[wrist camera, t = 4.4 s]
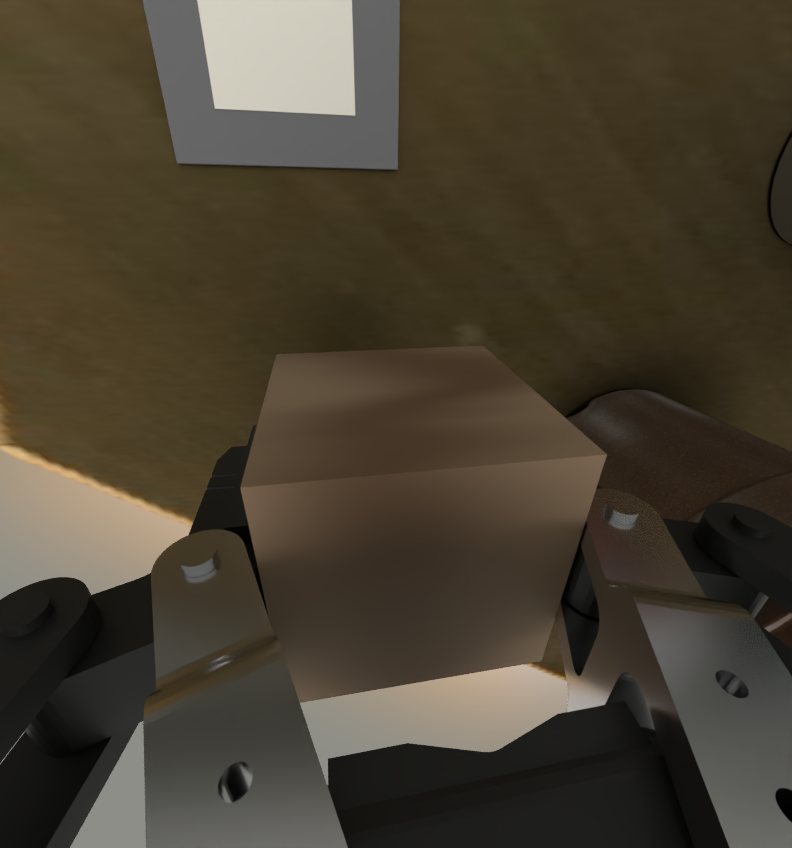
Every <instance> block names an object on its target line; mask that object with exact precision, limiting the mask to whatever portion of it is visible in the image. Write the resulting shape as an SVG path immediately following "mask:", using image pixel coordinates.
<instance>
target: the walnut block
mask: <svg viewBox="0 0 792 848" xmlns="http://www.w3.org/2000/svg"><path fill="white" fill-rule="evenodd" d="M606 456H607V454H606V453H605V452H604V451H603V450H601V449H600V448H599V447H598V446H597V445H596V444H595V443H593V442H592V441H591V440H590V439H589V438H588V437H587V436H585V435H584V434H583V433H582V432H581V431H580V430H579V429H578V428H576V427H575V426H574V425H573V424H572V423H571V422H570V421H568V420H567V419H566V418H565V417H564V416H563V415H562V414H560V413H559V412H558V411H557V410H556V409H555V408H554V407H552V406H551V405H550V404H549V403H548V402H547V401H546V400H545V399H543V398H542V397H541V396H540V395H539V394H538V393H537V392H535V391H534V390H533V389H532V388H531V387H530V386H529V385H527V384H526V383H525V382H524V381H523V380H522V379H521V378H519V377H518V376H517V375H516V374H515V373H514V372H513V371H511V370H510V369H509V368H508V367H507V366H506V365H505V364H504V363H502V362H501V361H500V360H499V359H498V358H497V357H496V356H494V355H493V354H492V353H491V352H490V351H489V350H488V349H486V348H485V347H484V346H483V345H480V346H457V347H433V348H410V349H386V350H363V351H339V352H316V353H292V354H276V358H275V361H274V365H273V369H272V372H271V376H270V380H269V383H268V387H267V391H266V395H265V398H264V402H263V406H262V409H261V413H260V417H259V420H258V424H257V428H256V431H255V435H254V439H253V442H252V446H251V450H250V454H249V457H248V461H247V465H246V468H245V472H244V476H243V479H242V483H241V487H240V489H241V493H242V498H243V502H244V507H245V512H246V516H247V521H248V525H249V530H250V534H251V539H252V543H253V548H254V552H255V557H256V562H257V566H258V571H259V575H260V580H261V584H262V589H263V593H264V598H265V602H266V607H267V612H268V616H269V621H270V624H271V627H272V630H273V633H274V636H277V638H278V640H279V643H280V645H281V648H282V651H283V654H284V657H285V660H286V663H287V666H288V669H289V672H290V675H291V678H292V681H293V684H294V687H295V690H296V693H297V696H298V699H299V702H300V703H301V702H306V701H312V700H318V699H323V698H330V697H335V696H342V695H347V694H353V693H359V692H365V691H370V690H376V689H382V688H388V687H394V686H400V685H405V684H411V683H416V682H423V681H428V680H434V679H440V678H446V677H452V676H458V675H463V674H469V673H474V672H481V671H487V670H493V669H498V668H503V667H510V666H516V665H521V664H527V663H533V662H539V661H541V660H542V657H543V654H544V651H545V648H546V645H547V641H548V638H549V635H550V632H551V629H552V626H553V623H554V619H555V616H556V613H557V610H558V607H559V604H560V601H561V598H562V594H563V591H564V588H565V585H566V582H567V579H568V576H569V572H570V569H571V566H572V563H573V560H574V557H575V554H576V550H577V547H578V544H579V541H580V538H581V535H582V532H583V528H584V525H585V522H586V519H587V516H588V513H589V510H590V507H591V503H592V500H593V497H594V494H595V491H596V488H597V485H598V481H599V478H600V475H601V472H602V469H603V466H604V463H605V459H606Z"/></svg>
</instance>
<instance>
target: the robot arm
mask: <svg viewBox="0 0 792 848" xmlns="http://www.w3.org/2000/svg"><path fill="white" fill-rule="evenodd" d="M771 216H772V220H773V223H774V227H775V229H776V230H777V232H778V234H779V235H780V237H781V238H783V239H784V240H785V241H787V242H788V243H789V244H792V137H791V138H790V140H789V142H788V144H787V147H786V149H785V151H784V153H783V155H782V157H781V159H780V162H779V165H778V168H777V171H776V174H775V177H774V181H773V187H772V193H771ZM256 428H257V425H254V426H253V428H252V431H251V435H250V438H249V442H248V445H247V446H240V447H231V448H230V449H229V450H228V451H227V452H226V453H225V454H224V455H223V456H222V457H220V458H219V459H218V460H217V463H216V466H215V468H214V471H213V473H212V478H210V481H209V484H208V486H207V490H206V491H205V494H204V497H203V499H202V502H201V504H200V507H199V509H198V512H197V515H196V517H195V520H194V522H193V525H192V528H191V530H190V533H189V535H188V536H186V537H184V538H182V539H180V540H178V541H177V542H175V543H173V544H172V545H171V546H169V547H168V548H167V549H166V550H165V551H164V552H163V553H162V554H161V555H160V556H159V557H158V559H157V560H156V562H155V564H154V565H153V568H152V571H151V573H150V574H148V575H146V576H144V577H141V578H139V579H136V580H134V581H131V582H128V583H125V584H123V585H119V586H116V587H114V588H111V589H108V590H105V591H102V592H100V593H96V594H93V595H91V594H90V592H89V590H88V588H87V587H86V585H85V584H84V583H83V582H81V581H80V580H77V579H74V578H68V577H60V578H52V579H47V580H43V581H39V582H36V583H33V584H30V585H28V586H26V587H23V588H21V589H19V590H17V591H15V592H13V593H11V594H9V595H8V596H6V597H4V598H3V599H1V600H0V763H1V761H2V760H3V759H4V757H5V756H6V754H7V753H8V752H9V751H10V749H11V748H12V747H13V745H14V744H15V743H16V742H17V740H18V739H19V738H20V736H21V735H22V734H23V732H24V731H25V733H24V734H23V735H22V737H21V738H20V739H19V741H18V742H17V743H16V745H15V746H14V747H13V749H12V750H11V751H10V752H9V754H8V755H7V757H6V758H5V759H4V760H3V762H2V763H1V764H0V848H70V846H71V844H72V843H73V841H74V839H75V837H76V835H77V834H78V832H79V830H80V828H81V826H82V825H83V823H84V821H85V819H86V817H87V815H88V813H89V812H90V810H91V808H92V807H93V805H94V803H95V801H96V799H97V798H98V796H99V794H100V792H101V790H102V788H103V787H104V785H105V783H106V781H107V779H108V778H109V776H110V774H111V772H112V770H113V769H114V767H115V765H116V763H117V761H118V760H119V758H120V756H121V754H122V752H123V751H124V749H125V747H126V745H127V743H128V742H129V740H130V738H131V736H132V734H133V733H134V730H135V729H136V727H137V725H138V723H139V722H141V721H144V722H143V723H144V724H143V725H144V727H143V729H144V776H145V820H146V821H145V822H146V848H792V649H791V648H790V647H788V646H787V645H786V644H784V643H783V642H782V641H780V640H779V639H778V638H776V637H775V636H774V635H773V634H771V633H770V632H769V631H767V630H766V629H765V628H763V627H762V626H761V625H759V624H758V623H757V622H756V621H755V620H754V618H755V616H756V615H757V614H758V612H759V611H760V609H761V608H762V606H763V605H764V603H765V602H766V601H767V599H768V598H770V599H772V600H773V601H775V602H776V603H778V604H779V605H780V606H782V607H783V608H785V609H786V610H788V611H789V612H790V613H792V528H791V527H790V526H788V525H786V524H784V523H782V522H781V521H779V520H777V519H775V518H773V517H771V516H770V515H768V514H766V513H763V512H761V511H759V510H756V509H753V508H750V507H747V506H744V505H739V504H735V503H724V502H721V503H714V504H711V505H709V506H708V507H707V508H706V509H705V511H704V513H703V515H702V517H701V519H700V521H699V523H697V522H689V521H681V520H673V519H664V518H661V517H660V515H659V514H658V512H657V511H656V510H655V509H654V508H653V507H652V506H650V505H649V504H648V503H646V502H645V501H643V500H641V499H640V498H638V497H636V496H633V495H631V494H628V493H625V492H622V491H618V490H613V489H602V487H601V486H600V485H599V484H598V485H597V488H596V491H595V494H594V497H593V500H592V503H591V507H590V510H589V513H588V516H587V519H586V522H585V525H584V528H583V532H582V535H581V538H580V541H579V544H578V547H577V550H576V554H575V557H574V560H573V563H572V566H571V569H570V572H569V576H568V579H567V582H566V585H565V588H564V591H563V594H562V598H561V601H560V604H559V607H558V610H557V613H556V616H555V617H556V623H557V629H558V634H559V640H560V646H561V651H562V657H563V662H564V668H565V674H566V679H567V685H568V686H567V687H568V704H567V712H566V713H561V714H557V715H556V716H554V717H552V718H551V719H549V720H547V721H546V722H544V723H542V724H541V725H539V726H538V727H536V728H534V729H533V730H531V731H529V732H528V733H526V734H524V735H523V736H521V737H519V738H518V739H516V740H514V741H513V742H511V743H509V744H508V745H506V746H504V747H503V748H501V749H499V750H497V751H494V752H477V751H468V750H460V749H452V748H442V747H434V746H426V745H417V744H409V743H407V744H402V745H397V746H392V747H387V748H381V749H376V750H371V751H366V752H361V753H356V754H350V755H346V756H340V757H335V758H330V759H328V783H329V785H327V784H326V780H325V778H324V774H323V771H322V768H321V765H320V762H319V759H318V757H317V753H316V750H315V748H314V745H313V742H312V738H311V735H310V732H309V729H308V726H307V723H306V720H305V717H304V714H303V711H302V709H301V705H300V702H299V699H298V696H297V693H296V690H295V687H294V684H293V681H292V678H291V675H290V672H289V669H288V666H287V663H286V660H285V657H284V654H283V651H282V648H281V645H280V643H279V640H278V638H277V636H274V633H273V630H272V627H271V624H270V621H269V616H268V612H267V607H266V602H265V598H264V593H263V589H262V584H261V580H260V575H259V571H258V566H257V562H256V557H255V552H254V548H253V543H252V539H251V534H250V530H249V525H248V521H247V516H246V512H245V507H244V502H243V498H242V493H241V489H240V487H241V483H242V479H243V476H244V472H245V468H246V465H247V461H248V457H249V454H250V450H251V446H252V442H253V439H254V435H255V431H256Z"/></svg>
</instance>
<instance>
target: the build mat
mask: <svg viewBox="0 0 792 848" xmlns="http://www.w3.org/2000/svg"><path fill="white" fill-rule="evenodd" d="M143 4H144V8H145V13H146V18H147V23H148V27H149V32H150V37H151V42H152V46H153V51H154V56H155V61H156V65H157V70H158V75H159V80H160V84H161V89H162V94H163V99H164V103H165V108H166V113H167V118H168V122H169V127H170V132H171V137H172V141H173V146H174V151H175V156H176V160H177V163H179V164H194V165H230V166H265V167H301V168H336V169H372V170H397V169H398V110H399V30H400V0H143Z"/></svg>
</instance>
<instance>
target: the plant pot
mask: <svg viewBox="0 0 792 848" xmlns="http://www.w3.org/2000/svg"><path fill="white" fill-rule="evenodd" d="M566 419H567V420H568V421H570V422H571V423H572V424H573V425H574V426H575V427H576V428H578V429H579V430H580V431H581V432H582V433H583V434H584V435H585V436H587V437H588V438H589V439H590V440H591V441H592V442H593V443H595V444H596V445H597V446H598V447H599V448H600V449H601V450H603V451H604V452H605V453H606V454H607V456H606V459H605V463H604V466H603V469H602V472H601V475H600V478H599V481H598V484H599V485H600V486H601V487H602V489H613V490H618V491H622V492H625V493H628V494H631V495H633V496H636V497H638V498H640V499H641V500H643V501H645V502H646V503H648V504H649V505H650V506H652V507H653V508H654V509H655V510H656V511H657V512H658V514H659V515H660V517H661V518H664V519H673V520H681V521H689V522H697V523H699V521H700V519H701V517H702V515H703V513H704V511H705V509H706V508H707V507H708V506H709V505H711V504H714V503H721V502H724V503H735V504H739V505H744V506H747V507H750V508H753V509H756V510H759V511H761V512H763V513H766V514H768V515H770V516H771V517H773V518H775V519H777V520H779V521H781V522H782V523H784V524H786V525H788V526H790V527H791V528H792V452H791V451H788V450H786V449H784V448H781V447H779V446H777V445H774V444H772V443H770V442H768V441H765V440H763V439H761V438H758V437H756V436H754V435H751V434H749V433H747V432H744V431H742V430H740V429H738V428H735V427H733V426H731V425H728V424H726V423H724V422H721V421H719V420H717V419H715V418H712V417H710V416H708V415H705V414H703V413H701V412H699V411H696V410H694V409H692V408H689V407H687V406H685V405H683V404H680V403H678V402H676V401H674V400H672V399H670V398H667V397H665V396H663V395H661V394H659V393H656V392H652V391H648V390H641V389H629V390H621V391H615V392H611V393H608V394H605V395H602V396H600V397H597V398H595V399H593V400H591V401H590V403H589V405H588V406H587V407H586V408H585V409H584V410H582V411H581V412H579V413H577V414H575V415H573V416H570V417H567V418H566ZM754 620H755V621H756V622H757V623H758V624H759V625H761V626H762V627H763V628H765V629H766V630H767V631H769V632H770V633H771V634H773V635H774V636H775V637H776V638H778V639H779V640H780V641H782V642H783V643H784V644H786V645H787V646H788V647H790V648H791V649H792V613H790V612H789V611H788V610H786V609H785V608H783V607H782V606H780V605H779V604H778V603H776V602H775V601H773V600H772V599H770V598H768V599H767V601H766V602H765V603H764V605H763V606H762V608H761V609H760V611H759V612H758V614H757V615H756V616H755V618H754Z"/></svg>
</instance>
